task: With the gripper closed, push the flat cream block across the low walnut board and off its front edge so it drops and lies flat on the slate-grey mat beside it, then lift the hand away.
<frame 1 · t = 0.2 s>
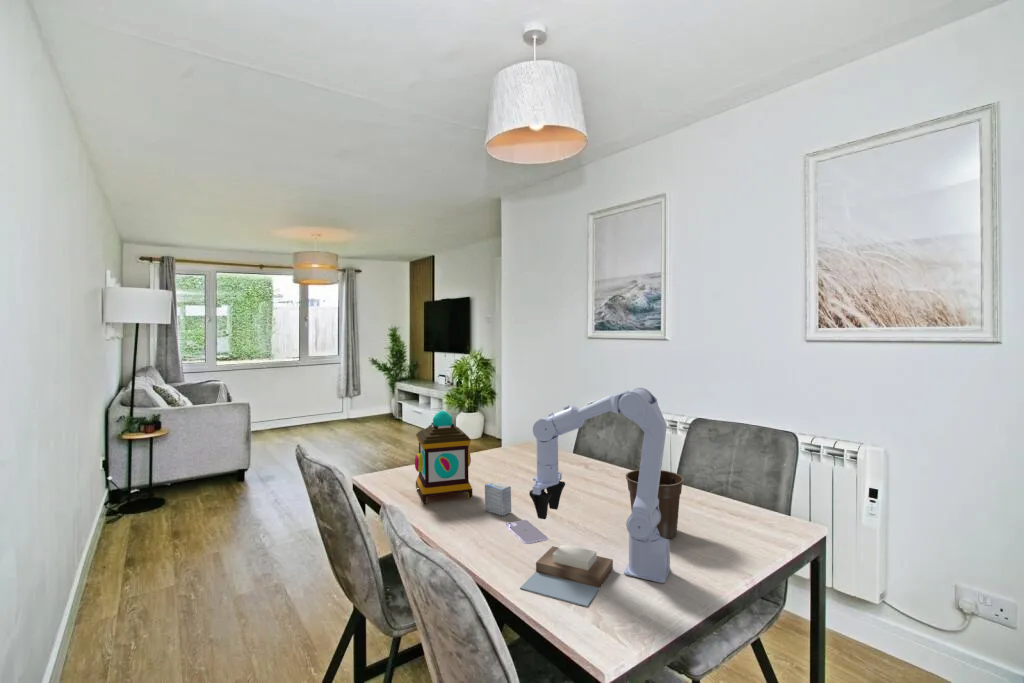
hand: (548, 513, 132), 10 cm above the table, tool pointing down, fingers open, 7 cm apart
decorative lantern: (443, 494, 178), on the table
mobile phone: (525, 533, 144), on the table
plant pot: (654, 532, 144), on the table
walnut board: (574, 571, 121), on the table
medicine box: (498, 512, 160), on the table
cream block: (574, 560, 121), point 2 cm above the table, touching walnut board
slate mat: (559, 589, 112), on the table
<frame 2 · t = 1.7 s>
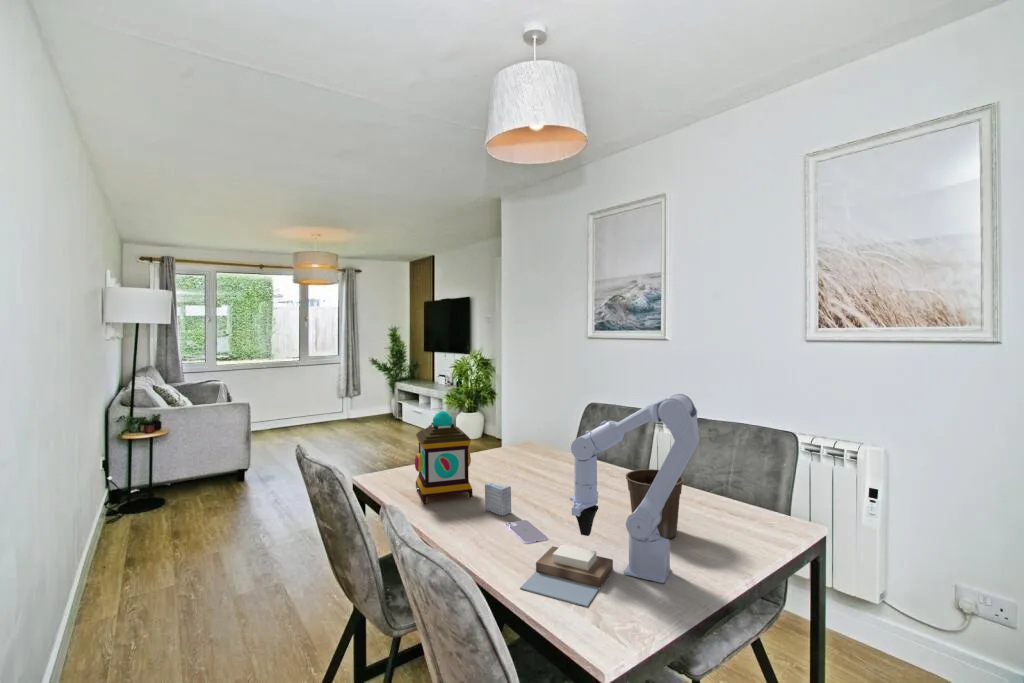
hand: (585, 534, 128), 6 cm above the table, tool pointing down, fingers closed
nothing on the table moved.
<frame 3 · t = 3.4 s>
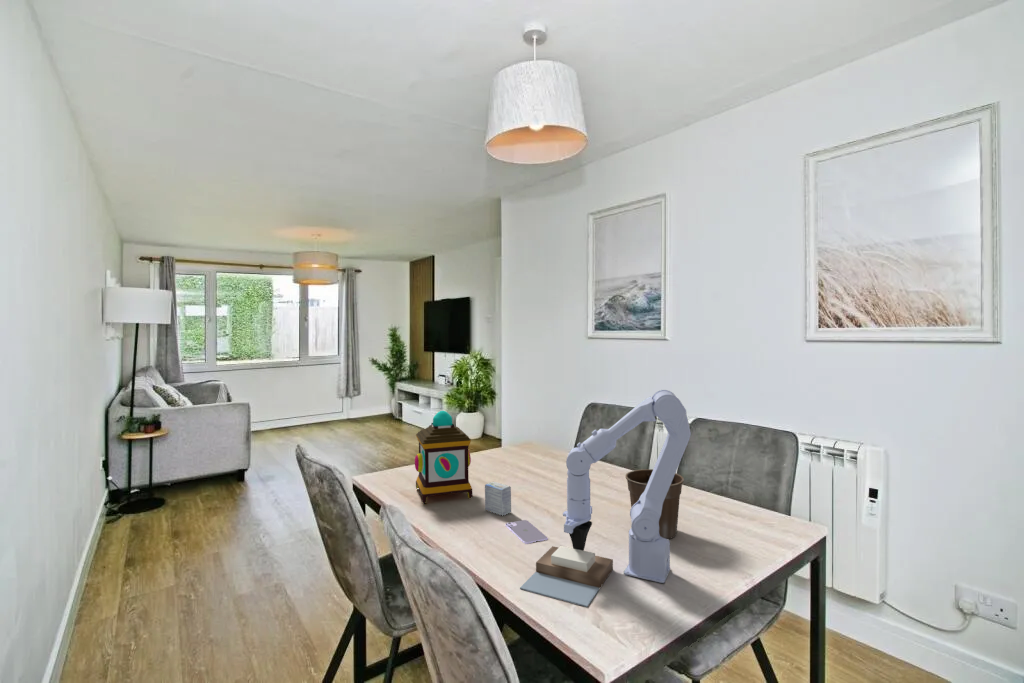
hand: (578, 551, 123), 4 cm above the table, tool pointing down, fingers closed
cream block: (573, 562, 120), point 2 cm above the table, touching gripper, walnut board
everything else where it was.
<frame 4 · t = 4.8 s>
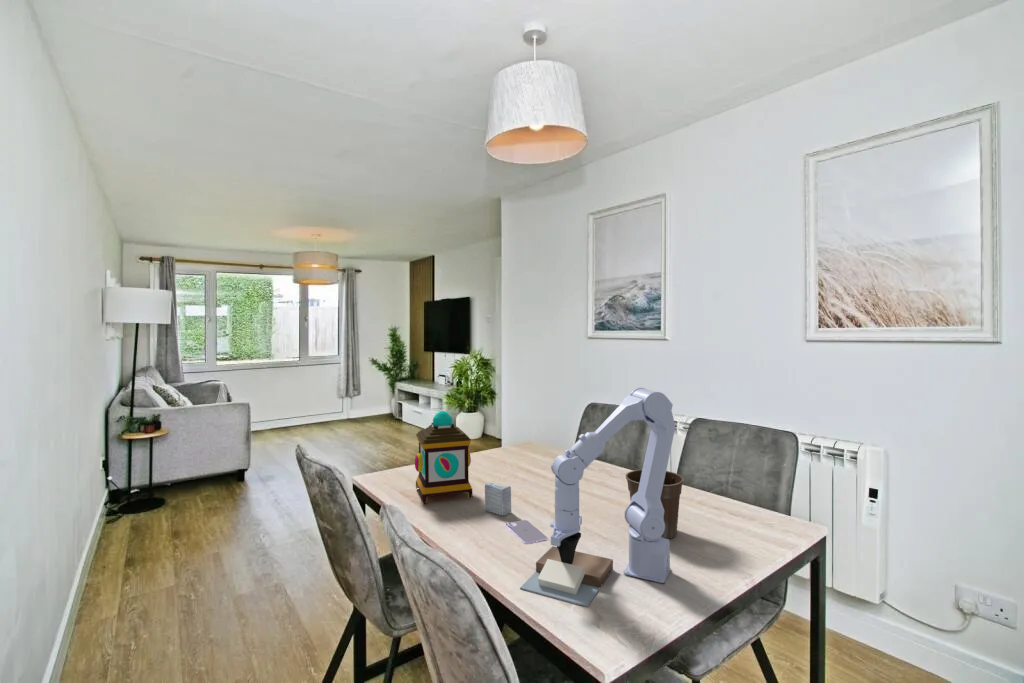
hand: (567, 564, 116), 4 cm above the table, tool pointing down, fingers closed
cream block: (561, 579, 114), point 1 cm above the table, tilted 22°, touching gripper
everything else where it was.
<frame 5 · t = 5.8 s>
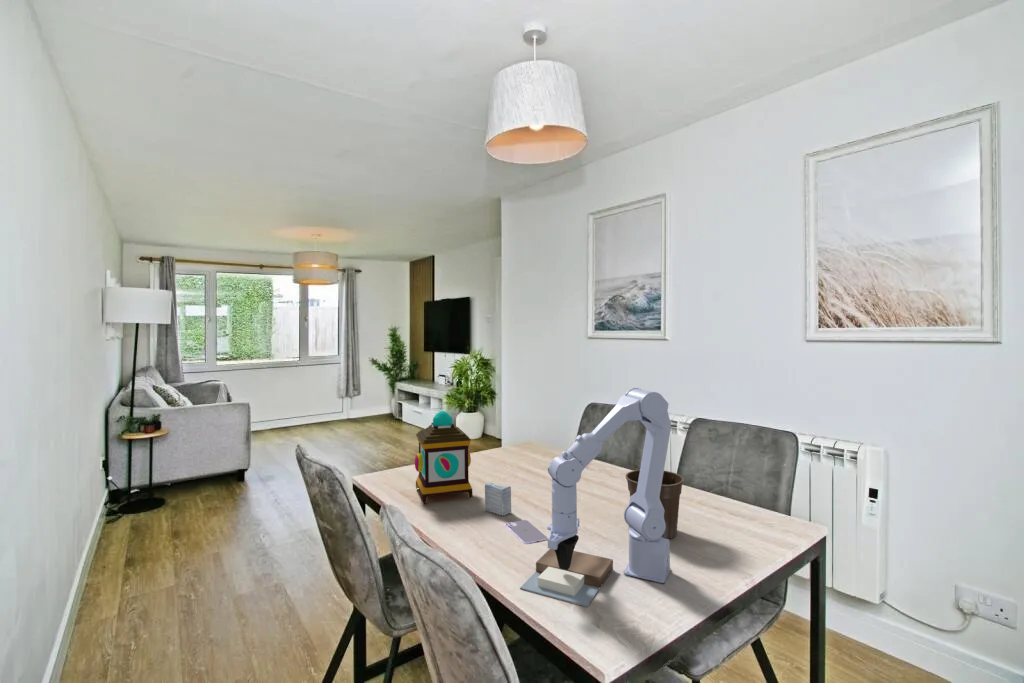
hand: (564, 567, 115), 4 cm above the table, tool pointing down, fingers closed
cream block: (561, 584, 114), resting on slate mat
everything else where it was.
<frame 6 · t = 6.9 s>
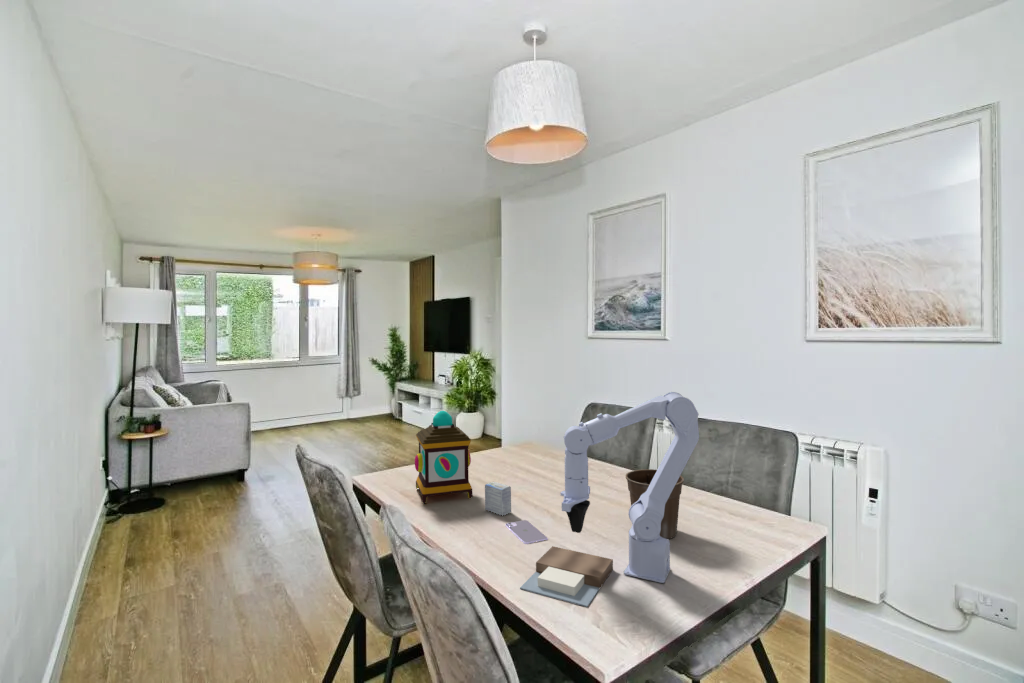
hand: (576, 531, 122), 9 cm above the table, tool pointing down, fingers closed
nothing on the table moved.
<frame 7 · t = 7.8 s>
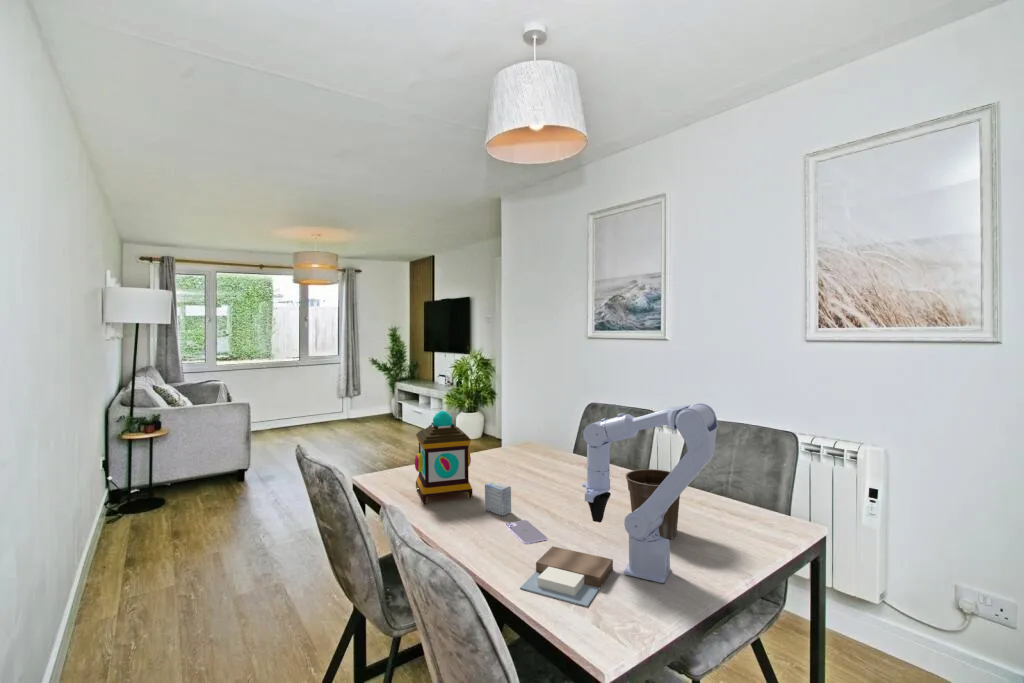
hand: (597, 521, 128), 9 cm above the table, tool pointing down, fingers closed
nothing on the table moved.
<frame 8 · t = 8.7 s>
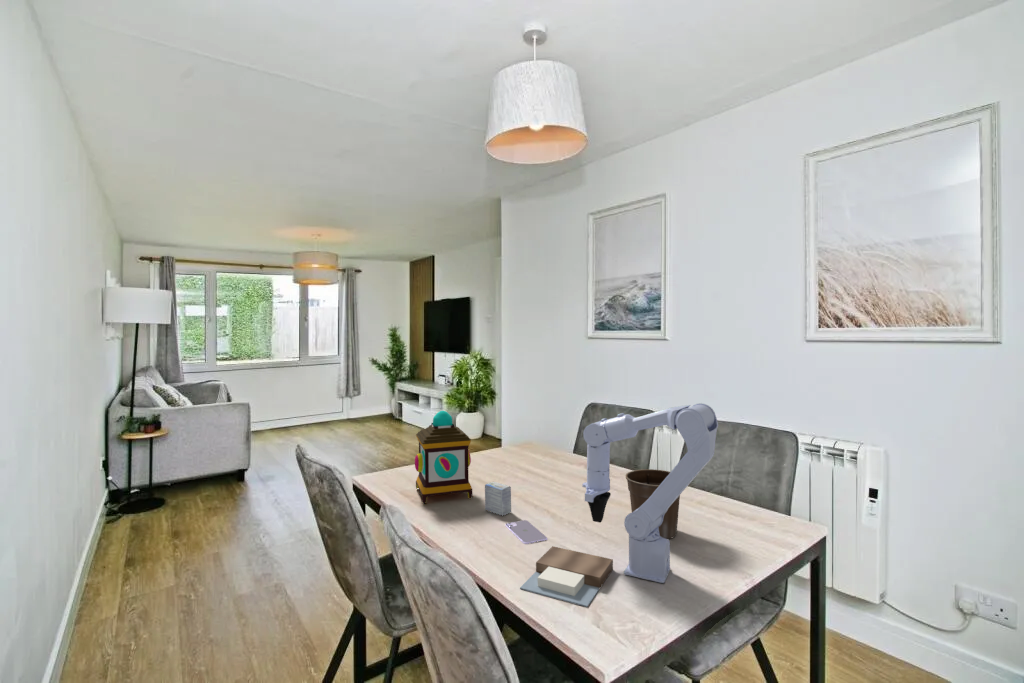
hand: (597, 521, 128), 9 cm above the table, tool pointing down, fingers closed
nothing on the table moved.
at the end: cream block resting on slate mat; cream block inside the target area (1.7 cm from its centre), resting on slate mat; cream block tilted 0° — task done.
